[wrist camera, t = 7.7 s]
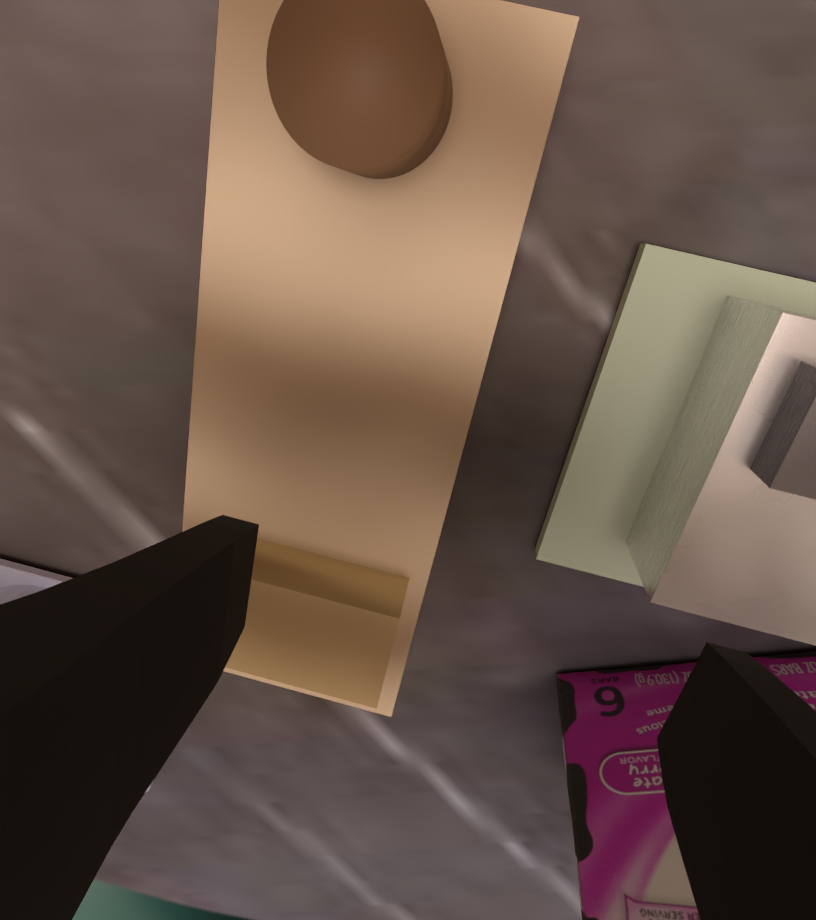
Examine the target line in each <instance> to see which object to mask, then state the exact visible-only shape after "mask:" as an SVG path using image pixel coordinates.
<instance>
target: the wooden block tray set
mask: <svg viewBox="0 0 816 920" xmlns="http://www.w3.org/2000/svg"><path fill="white" fill-rule="evenodd" d="M578 20H579V17H576V16H572V15H567V14H562V13H558V12H553V11H548V10H544V9H539V8H534V7H529V6H525V5H520V4H515V3H511V2H506V1H501V0H220V1H219V15H218V30H217V44H216V58H215V72H214V86H213V101H212V115H211V129H210V143H209V157H208V172H207V186H206V200H205V214H204V229H203V243H202V257H201V271H200V285H199V300H198V314H197V328H196V342H195V356H194V371H193V385H192V399H191V413H190V427H189V442H188V456H187V470H186V484H185V499H184V513H183V527H182V532H184V531H186V530H188V529H190V528H192V527H195V526H197V525H199V524H201V523H204V522H206V521H208V520H211V519H213V518H216V517H218V516H221V515H225V516H229V517H233V518H237V519H240V520H244V521H248V522H252V523H256V524H259V529H258V536H257V543H256V550H255V557H254V564H253V572H252V579H251V586H250V593H249V600H248V607H247V614H246V621H245V627H244V629H243V632H242V634H241V636H240V638H239V640H238V642H237V644H236V646H235V648H234V650H233V652H232V654H231V656H230V658H229V660H228V662H227V664H226V666H225V668H224V670H223V671H225V672H228V673H232V674H236V675H239V676H243V677H247V678H250V679H254V680H258V681H261V682H265V683H269V684H272V685H276V686H280V687H283V688H287V689H291V690H294V691H298V692H302V693H305V694H309V695H313V696H316V697H320V698H324V699H327V700H331V701H335V702H338V703H342V704H346V705H349V706H353V707H357V708H360V709H364V710H368V711H371V712H375V713H379V714H382V715H386V716H390V717H391V716H392V712H393V708H394V705H395V701H396V697H397V694H398V690H399V686H400V682H401V679H402V675H403V671H404V668H405V664H406V660H407V656H408V653H409V649H410V645H411V641H412V638H413V634H414V630H415V627H416V623H417V619H418V615H419V612H420V608H421V604H422V601H423V597H424V593H425V589H426V586H427V582H428V578H429V575H430V571H431V567H432V563H433V560H434V556H435V552H436V548H437V545H438V541H439V537H440V534H441V530H442V526H443V522H444V519H445V515H446V511H447V508H448V504H449V500H450V496H451V493H452V489H453V485H454V482H455V478H456V474H457V470H458V467H459V463H460V459H461V455H462V452H463V448H464V444H465V441H466V437H467V433H468V429H469V426H470V422H471V418H472V415H473V411H474V407H475V403H476V400H477V396H478V392H479V389H480V385H481V381H482V377H483V374H484V370H485V366H486V362H487V359H488V355H489V351H490V348H491V344H492V340H493V336H494V333H495V329H496V325H497V322H498V318H499V314H500V310H501V307H502V303H503V299H504V296H505V292H506V288H507V284H508V281H509V277H510V273H511V269H512V266H513V262H514V258H515V255H516V251H517V247H518V243H519V240H520V236H521V232H522V229H523V225H524V221H525V217H526V214H527V210H528V206H529V203H530V199H531V195H532V191H533V188H534V184H535V180H536V177H537V173H538V169H539V165H540V162H541V158H542V154H543V150H544V147H545V143H546V139H547V136H548V132H549V128H550V124H551V121H552V117H553V113H554V110H555V106H556V102H557V98H558V95H559V91H560V87H561V84H562V80H563V76H564V72H565V69H566V65H567V61H568V57H569V54H570V50H571V46H572V43H573V39H574V35H575V31H576V28H577V24H578Z"/></svg>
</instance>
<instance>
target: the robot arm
mask: <svg viewBox="0 0 816 920" xmlns="http://www.w3.org/2000/svg"><path fill="white" fill-rule="evenodd" d="M258 529H259V524H256V523H252V522H248V521H244V520H240V519H237V518H233V517H229V516H225V515H221V516H218V517H216V518H213V519H211V520H208V521H206V522H204V523H201V524H199V525H197V526H195V527H192V528H190V529H188V530H186V531H184V532H181V533H179V534H177V535H175V536H172V537H170V538H168V539H166V540H164V541H161V542H159V543H157V544H155V545H152V546H150V547H148V548H145V549H143V550H141V551H139V552H136V553H134V554H132V555H130V556H127V557H125V558H123V559H120V560H118V561H116V562H113V563H111V564H108V565H106V566H103V567H101V568H98V569H95V570H93V571H90V572H88V573H85V574H83V575H80V576H77V577H75V578H71V577H67V576H64V575H60V574H56V573H52V572H49V571H45V570H41V569H38V568H34V567H30V566H26V565H23V564H19V563H15V562H11V561H8V560H4V559H0V920H72V918H73V916H74V915H75V913H76V911H77V909H78V907H79V905H80V903H81V902H82V900H83V898H84V896H85V894H86V892H87V891H88V889H89V887H90V885H91V883H92V881H93V879H94V878H95V876H96V874H97V872H98V870H99V868H100V867H101V865H102V863H103V861H104V859H105V857H106V855H107V854H108V852H109V850H110V848H111V846H112V845H113V843H114V841H115V840H116V838H117V836H118V835H119V833H120V831H121V830H122V828H123V826H124V825H125V823H126V821H127V820H128V818H129V817H130V815H131V813H132V812H133V810H134V809H135V807H136V806H137V804H138V803H139V801H140V800H141V798H142V796H143V795H144V793H146V792H148V791H149V790H150V788H151V786H152V785H153V782H154V778H155V777H156V775H157V774H158V772H159V771H160V769H161V768H162V766H163V765H164V763H165V762H166V760H167V759H168V757H169V756H170V754H171V753H172V751H173V749H174V748H175V746H176V745H177V743H178V742H179V740H180V739H181V737H182V736H183V734H184V733H185V731H186V730H187V728H188V727H189V725H190V724H191V722H192V721H193V719H194V718H195V716H196V714H197V713H198V711H199V710H200V708H201V707H202V705H203V704H204V702H205V701H206V699H207V698H208V696H209V694H210V693H211V691H212V690H213V688H214V687H215V685H216V684H217V682H218V680H219V678H220V676H221V674H222V672H223V670H224V668H225V666H226V664H227V662H228V660H229V658H230V656H231V654H232V652H233V650H234V648H235V646H236V644H237V642H238V640H239V638H240V636H241V634H242V632H243V629H244V627H245V621H246V614H247V607H248V600H249V593H250V586H251V579H252V572H253V564H254V557H255V550H256V543H257V536H258ZM657 745H658V752H659V760H660V767H661V774H662V780H663V785H664V791H665V797H666V802H667V807H668V811H669V814H670V818H671V822H672V825H673V829H674V832H675V836H676V839H677V843H678V846H679V849H680V853H681V856H682V860H683V863H684V867H685V870H686V873H687V877H688V880H689V883H690V887H691V890H692V893H693V897H694V900H695V903H696V907H697V910H698V914H699V917H700V920H816V711H815V710H814V709H813V708H812V707H811V706H809V705H808V704H807V703H806V702H805V701H804V700H803V699H802V698H800V697H799V696H798V695H797V694H796V693H795V692H794V691H792V690H791V689H790V688H789V687H788V686H787V685H786V684H784V683H783V682H782V681H781V680H780V679H779V678H777V677H776V676H775V675H774V674H773V673H771V672H770V671H769V670H768V669H767V668H765V667H764V666H763V665H762V664H760V663H759V662H758V661H756V660H755V659H754V658H752V657H751V656H750V655H748V654H747V653H744V652H740V651H737V650H733V649H729V648H725V647H722V646H718V645H714V644H710V643H706V645H705V647H704V649H703V651H702V653H701V655H700V656H699V658H698V660H697V662H696V664H695V666H694V668H693V670H692V672H691V674H690V676H689V678H688V679H687V681H686V683H685V685H684V687H683V689H682V691H681V693H680V695H679V697H678V699H677V700H676V702H675V704H674V706H673V708H672V710H671V712H670V714H669V716H668V718H667V720H666V721H665V723H664V725H663V727H662V729H661V731H660V733H659V735H658V737H657Z"/></svg>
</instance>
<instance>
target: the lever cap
mask: <svg viewBox="0 0 816 920" xmlns="http://www.w3.org/2000/svg"><path fill="white" fill-rule="evenodd" d="M625 542H626V544H627V547H628V549H629V551H630V554H631V556H632V559H633V561H634V564H635V566H636V569H637V571H638V574H639V576H640V579H641V581H642V584H643V586H644V588H645V591H646V593H647V596H648V598H649V601H650V603H654V604H658V605H662V606H665V607H669V608H673V609H677V610H681V611H685V612H689V613H692V614H696V615H700V616H704V617H708V618H712V619H715V620H719V621H723V622H727V623H731V624H735V625H738V626H742V627H746V628H750V629H754V630H758V631H761V632H765V633H769V634H773V635H777V636H781V637H784V638H788V639H792V640H796V641H800V642H804V643H807V644H811V645H815V646H816V316H814V315H810V314H805V313H801V312H797V311H793V310H788V309H784V308H780V307H776V306H771V305H767V304H763V303H759V302H754V301H750V300H746V299H742V298H737V297H733V296H729V295H727V298H726V300H725V303H724V305H723V307H722V310H721V312H720V315H719V317H718V319H717V322H716V324H715V327H714V329H713V331H712V334H711V336H710V339H709V341H708V343H707V346H706V348H705V351H704V353H703V356H702V358H701V360H700V363H699V365H698V368H697V370H696V372H695V375H694V377H693V380H692V382H691V384H690V387H689V389H688V392H687V394H686V396H685V399H684V401H683V404H682V406H681V408H680V411H679V413H678V416H677V418H676V420H675V423H674V425H673V428H672V430H671V432H670V435H669V437H668V440H667V442H666V444H665V447H664V449H663V452H662V454H661V456H660V459H659V461H658V464H657V466H656V468H655V471H654V473H653V476H652V478H651V480H650V483H649V485H648V488H647V490H646V492H645V495H644V497H643V500H642V502H641V504H640V507H639V509H638V512H637V514H636V516H635V519H634V521H633V524H632V526H631V528H630V531H629V533H628V536H627V538H626V540H625Z"/></svg>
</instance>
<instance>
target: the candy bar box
mask: <svg viewBox="0 0 816 920" xmlns="http://www.w3.org/2000/svg"><path fill="white" fill-rule="evenodd" d="M752 658H754V659H755V660H756V661H758V662H759V663H760V664H762V665H763V666H764V667H765V668H767V669H768V670H769V671H770V672H771V673H773V674H774V675H775V676H776V677H777V678H779V679H780V680H781V681H782V682H783V683H784V684H786V685H787V686H788V687H789V688H790V689H791V690H792V691H794V692H795V693H796V694H797V695H798V696H799V697H800V698H802V699H803V700H804V701H805V702H806V703H807V704H808V705H809V706H811V707H812V708H813V709H814V710H815V711H816V652H805V653H793V654H781V655H773V656H760V657H752ZM695 664H696V662H692V663H682V664H669V665H657V666H646V667H634V668H623V669H609V670H598V671H588V672H574V673H563V674H558V675H557V692H558V702H559V711H560V720H561V731H562V744H563V753H564V762H565V770H566V778H567V786H568V795H569V804H570V813H571V822H572V830H573V839H574V847H575V856H576V868H577V877H578V886H579V895H580V905H581V913H582V920H700V917H699V914H698V910H697V907H696V903H695V900H694V897H693V893H692V890H691V887H690V883H689V880H688V877H687V873H686V870H685V867H684V863H683V860H682V856H681V853H680V849H679V846H678V843H677V839H676V836H675V832H674V829H673V825H672V822H671V818H670V814H669V811H668V807H667V802H666V797H665V791H664V785H663V780H662V774H661V767H660V760H659V752H658V745H657V737H658V735H659V733H660V731H661V729H662V727H663V725H664V723H665V721H666V720H667V718H668V716H669V714H670V712H671V710H672V708H673V706H674V704H675V702H676V700H677V699H678V697H679V695H680V693H681V691H682V689H683V687H684V685H685V683H686V681H687V679H688V678H689V676H690V674H691V672H692V670H693V668H694V666H695Z"/></svg>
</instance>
